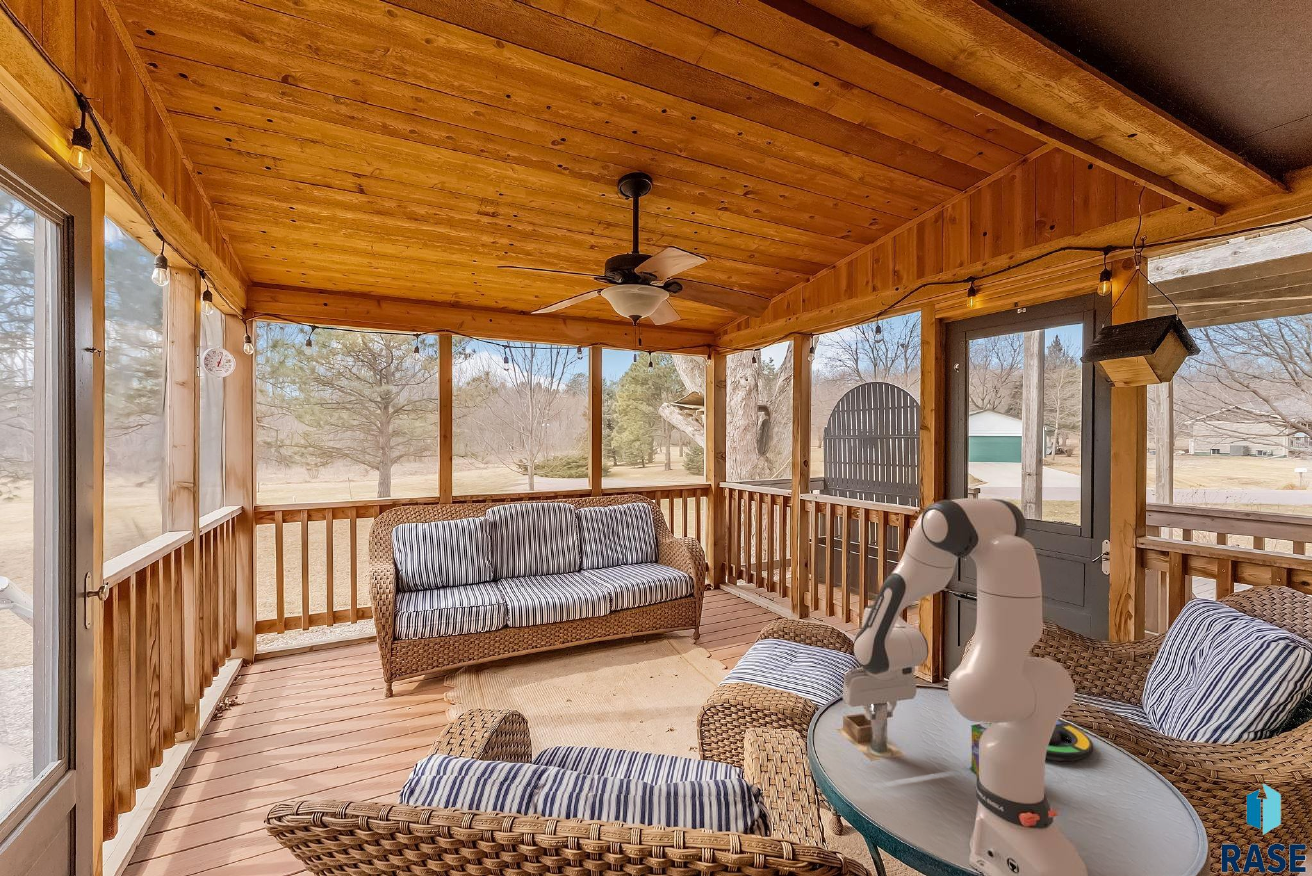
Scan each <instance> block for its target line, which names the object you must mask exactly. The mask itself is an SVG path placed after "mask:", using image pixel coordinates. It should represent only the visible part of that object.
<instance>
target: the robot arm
mask: <svg viewBox="0 0 1312 876" xmlns="http://www.w3.org/2000/svg"><path fill="white" fill-rule="evenodd" d="M1026 527H1027V523H1026V519H1025V515H1024V513H1023V512H1022V510H1021V509H1020V508H1019V507H1018V506H1017V505H1016V504H1015V503H1012V502H1010V501H1006V500H1003V499H998V498H990V499H988V498H975V497H968V498H967V497H966V498H965V497H964V498H958V499H950V500H949V499H942V500H939V501H935V502H933V503H931V504H929V505H928V506H927V507H926V508H924V510H923V512H922V513H921V514H920V515H919V516H918V518H917V519H916V521H915V523H914V525H913V527H912V529H911V531H910V533H909V536H908V539H907V541H906V545H905V549H904V551H903V554H902V556H901V559H900V561H899V562H898V563H897V565H896V566H895V568H894V569H893V571H892V572H891V574H889V575H888V576H887V577H886V578H885V580H884V581H883V583H882V584H881V587H880V589H879V591H878V594H877V596H876V598H875V600H874V602H873V604H870V605H868V606H865V608H864V610H863V615H862V620H861V621H862V624H861V629H860V630H859V631H858V632H857V634H856V636H855V638H854V641H853V646H852V648H853V649H852V653H853V656H854V658H855V661H856V662H857V663H858V664H859V665H860V667H857V668H852V667H851V668H848V671H846V672H845V673H844V678H843V679H844V680H843V687H842V699H843V701H844V702H845V704H847V705H848V706H850V707H851V708H853V707H862V708H863V709H864V711H865V714H866V718H867V719H868V720H875V713H873V712H872V711H871V704H877V703H885V702H887V719H889V718H890V719H891V718H893V717H894V715H893V712H894V710H895V708H896V707H897V706H898V703H897V702H900V701H907V700H912V699H913V700H914V699H915V697H916V695H917V679H916V676H915V672H916V671H915V670H916V667H918V666H921V665H924V664H925V663H926V662H927V660H928V657H929V651H930V649H929V643H928V641H927V638H926V636H925V635H924V634H923V632H921V630H920V629H918V628H917V627H914V626H912V625H910V624H909V623H908V622H906V621H905V620H904V619H903V618H902V617H901V616H900V614H901V613H902V612H903V610H905V608H907V607H908V606H909V605H911V604H912V603H914V602H917V601H919V600H921V599H923V598H926V597H929V596H931V595H934V594H937V593H938V592H940V591H942V590H943V589H945V588H946V587H947V585H948V584H949V582H950V581H951V579H952V578H953V574H954V572H955V569H956V564H957V563H958V562H957V561H958V558H959V559H963V558H965V557H967V556H969V557H970V558H971V559H972V561H974V564H975V568H976V624H975V629H974V635H973V638H972V641H971V644H970V646H969V649H968V651H967V653H966V655H965V656H964V659H963V660H962V661H961V663H960V664H959V665H958V666H957V668H956V669H955V670H953V671H952V672H951V674H950V675H949V677H948V678H949V679H948V682H947V690H948V691H947V692H948V695H949V698H950V701H951V703H952V705H953V707H954V709H955V710H956V711H957V712H958V713H959V715H961V716H962V718H965V719H966V720H968V721H970V722H973V723H974V722H975V723H980V724H983V723H992V724H991V725H990V726H989V727H988V728H987V729H986V730H985V731H984V733H983V734H982V736H981V738H980V741H979V774H978V775H977V774H976V775H977V776H976V780H975V781H976V783H975V792H976V793H975V794H976V799H977V807H976V813H975V819H974V821H975V822H974V827H973V831H972V834H971V837H970V839H969V849H970V854H969V859H968V863H969V866H971V867H972V868H974V869H975V870H976V869H977V870H976V871H977V872H979V873H980V872H982V873H983V874H986V875H987V876H1089V873H1088V869H1087V866H1086V864H1085V862H1084V861H1083V859H1082V857H1081V856H1080V855H1079V854H1078V849H1077V847H1076V845H1075V844H1074V843H1073V842H1071V841H1069V840H1068V839H1067V837H1066V836H1065V835H1064V833H1063V832H1062V830H1061V829H1060V828H1059V827H1058V825H1057V824H1056V822H1055V821H1054V818H1055V817H1058V816H1059V814H1057V813H1058V812H1059V810H1058V809H1057V808H1056V809H1051V807H1050V803H1049V800H1048V796H1047V795H1046V792H1045V776H1046V775H1045V774H1046V773H1045V770H1046V759H1045V758H1046V752H1047V748H1048V745H1049V742H1050V739H1051V736H1052V733H1053V731H1054V728H1055V726H1056V724H1057V722H1058V720H1059V721H1060V718H1061V716H1062V715H1063V714H1064V711H1066V710H1067V709H1068V708H1069V707H1070V706H1071V704H1072V703H1073V702H1074V700H1075V696H1076V694H1075V693H1076V689H1075V685H1074V681H1073V679H1072V677H1071V676H1070V673H1069V672H1068V671H1067V669H1065V668H1064V666H1062V665H1061V664H1060V663H1059V662H1058V661H1055V660H1053V659H1050V658H1044V657H1040V656H1039V657H1038V656H1030V655H1029V653H1030V651H1031V650H1032V648H1033V647H1034V646H1035V645H1036V644H1037V643H1038V642H1039V641H1040V639H1041V637H1042V635H1043V630H1044V627H1043V626H1044V625H1043V594H1042V593H1043V592H1042V591H1043V590H1042V579H1041V578H1042V577H1041V571H1040V566H1039V561H1038V558H1037V554H1036V550H1035V548H1034V546H1033V545H1032V543H1030V542H1029V541H1027V540H1026V539H1024V536H1025V533H1026V529H1027V528H1026ZM982 873H981V874H982ZM983 874H982V875H983Z"/></svg>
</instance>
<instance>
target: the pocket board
mask: <svg viewBox="0 0 1312 876" xmlns="http://www.w3.org/2000/svg"><path fill="white" fill-rule="evenodd" d="M836 731H837V732H838V733H839V734H841V735H842V737H844V738H845V739H846V740H847V741H849V743H851V744H852V745H853V746H855V748H856V749H857V750H859V751H860V752H861V753H862V754H863V755H864V756H865V757H866V758H867V759H868V760H870V761H871V762H872V761H877V760H878V761H879V760H884V759H891V758H897V757H902V756H905V754H904V753H903V752H902V751H900V750H899V749H898V748H897V747H895V746H894V745H893V744H892V743H891V742H889V741H888V740H887V751H886V752H877V751H875V750H873V749H872V748H871V720H868V719H867V718H866V712H865V713H857V714H850V715H843V716H842V728H837V729H836Z"/></svg>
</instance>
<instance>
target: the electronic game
mask: <svg viewBox="0 0 1312 876" xmlns="http://www.w3.org/2000/svg"><path fill="white" fill-rule="evenodd" d="M1064 737H1066V738H1068V739H1069V740H1070V741H1069V740H1068V741H1069V742H1071V741H1072V742H1071V743H1070V744H1068V745H1067V744H1066V745H1061V743H1062V738H1064ZM1066 738H1065V739H1066ZM1093 752H1094V744H1093V741H1092V740H1091V738H1090V737H1089V736H1087V734H1085V733H1084V732H1083V731H1081V729H1078V728H1076V727H1075V726H1073V725H1071V724H1068V723H1066V722H1064V721H1061V720H1060V719H1059V720H1058V722H1057V724H1056V726H1055V728H1054V731H1053V733H1052V736H1051V739H1050V742H1049V745H1048V748H1047V752H1046V758H1045V760H1049V761H1056V760H1057V762H1072V761H1076V760H1080V759H1084V758H1087V757H1089V756H1090V755H1092V754H1093Z"/></svg>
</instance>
